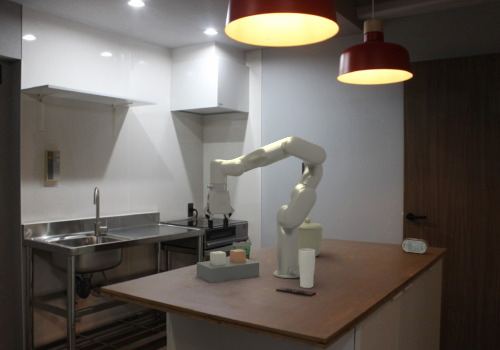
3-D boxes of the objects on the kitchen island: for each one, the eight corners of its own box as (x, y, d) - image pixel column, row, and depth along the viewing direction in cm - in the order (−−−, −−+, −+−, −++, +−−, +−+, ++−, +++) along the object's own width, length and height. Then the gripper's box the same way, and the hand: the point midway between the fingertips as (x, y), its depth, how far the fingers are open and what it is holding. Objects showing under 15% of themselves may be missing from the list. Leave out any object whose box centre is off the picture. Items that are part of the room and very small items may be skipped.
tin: (428, 254, 255) (429, 239, 254) (427, 255, 252) (427, 240, 252) (401, 251, 263) (401, 237, 262) (400, 252, 260) (400, 237, 260)
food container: (241, 263, 227) (241, 243, 227) (232, 261, 230) (232, 242, 230) (256, 259, 236) (256, 240, 236) (247, 257, 240) (247, 239, 240)
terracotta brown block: (245, 263, 200) (245, 250, 200) (235, 264, 198) (235, 251, 198) (239, 261, 205) (239, 249, 205) (229, 262, 202) (229, 250, 202)
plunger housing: (259, 276, 199) (259, 262, 199) (210, 282, 186) (210, 268, 186) (243, 270, 211) (243, 257, 211) (196, 276, 198) (196, 262, 198)
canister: (330, 256, 245) (331, 218, 245) (305, 260, 235) (306, 220, 235) (308, 251, 260) (308, 215, 260) (284, 254, 250) (284, 217, 250)
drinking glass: (310, 289, 177) (311, 252, 176) (295, 287, 180) (295, 250, 180) (317, 286, 182) (318, 249, 182) (302, 283, 186) (302, 247, 186)
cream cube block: (226, 265, 195) (226, 252, 195) (215, 266, 192) (215, 253, 192) (220, 263, 200) (220, 251, 200) (210, 264, 197) (210, 252, 197)
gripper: (204, 188, 188) (203, 230, 188) (239, 187, 197) (239, 228, 197) (196, 187, 194) (196, 228, 195) (231, 187, 203) (231, 226, 204)
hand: (218, 228), depth 196 cm, fingers open, 6 cm apart
